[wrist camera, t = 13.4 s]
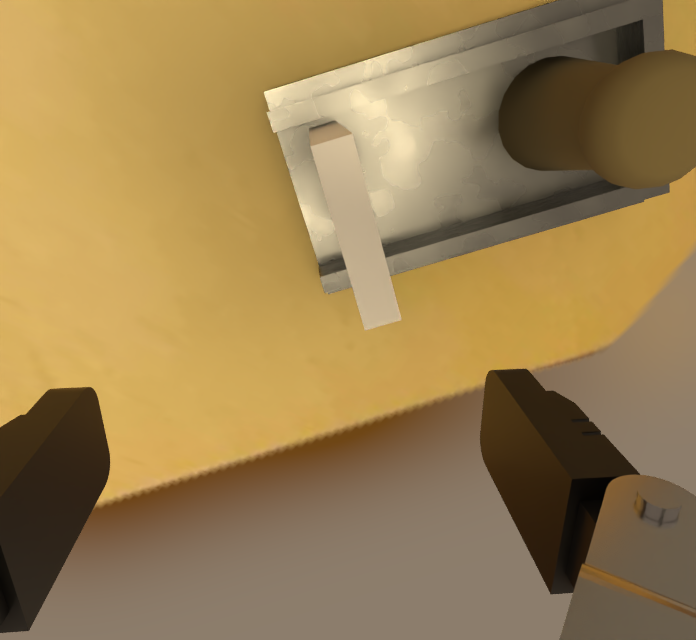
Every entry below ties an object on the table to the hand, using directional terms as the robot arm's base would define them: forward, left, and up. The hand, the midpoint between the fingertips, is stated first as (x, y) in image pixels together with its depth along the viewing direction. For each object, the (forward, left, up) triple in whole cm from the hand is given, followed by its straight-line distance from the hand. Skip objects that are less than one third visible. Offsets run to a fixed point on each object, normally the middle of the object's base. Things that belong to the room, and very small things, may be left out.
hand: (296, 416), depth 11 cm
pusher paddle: (-1, +3, -21) cm, 22 cm away
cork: (-1, +15, -22) cm, 26 cm away
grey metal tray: (-1, +10, -23) cm, 25 cm away
